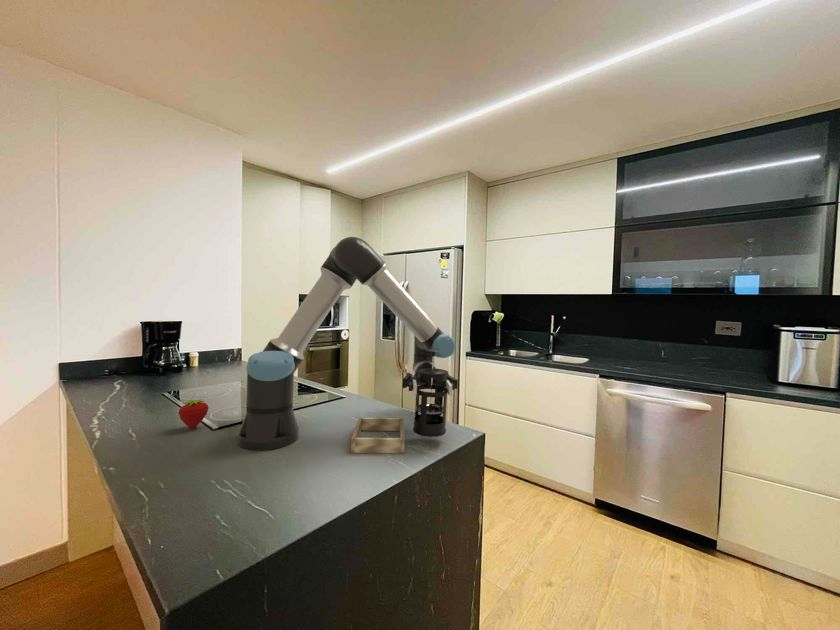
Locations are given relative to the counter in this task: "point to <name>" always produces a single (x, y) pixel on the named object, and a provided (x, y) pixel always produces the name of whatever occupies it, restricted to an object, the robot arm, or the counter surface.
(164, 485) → the counter surface
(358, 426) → the wooden frame
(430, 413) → the french press
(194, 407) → the strawberry
